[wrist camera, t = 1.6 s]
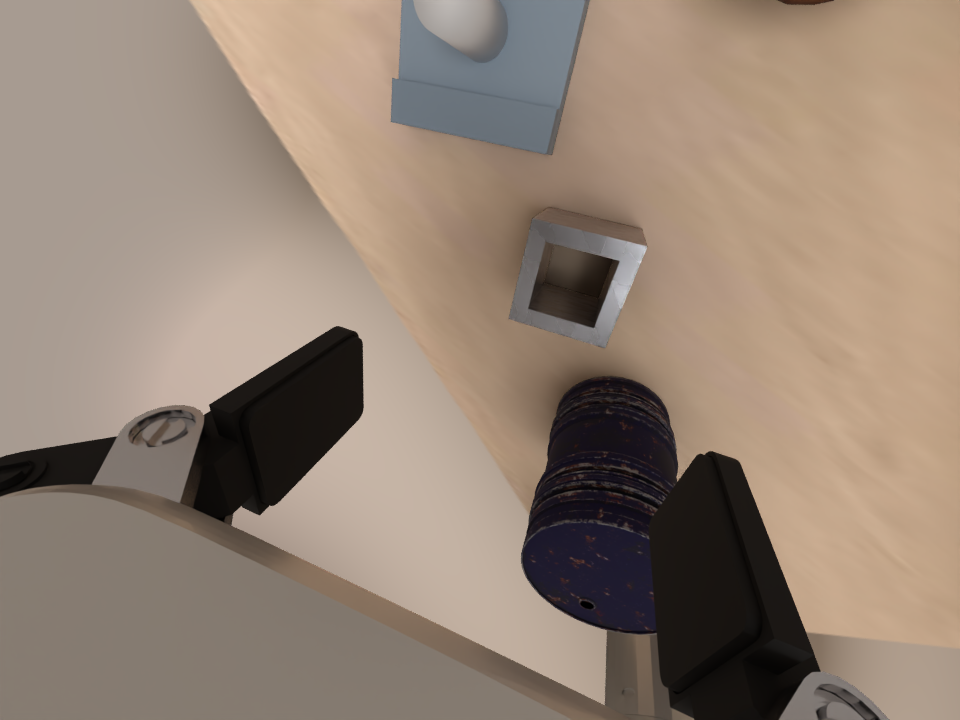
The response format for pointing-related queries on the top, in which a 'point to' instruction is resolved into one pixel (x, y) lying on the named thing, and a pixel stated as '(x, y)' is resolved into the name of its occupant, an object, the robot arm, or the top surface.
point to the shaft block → (487, 68)
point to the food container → (804, 2)
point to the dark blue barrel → (601, 504)
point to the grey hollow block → (571, 308)
